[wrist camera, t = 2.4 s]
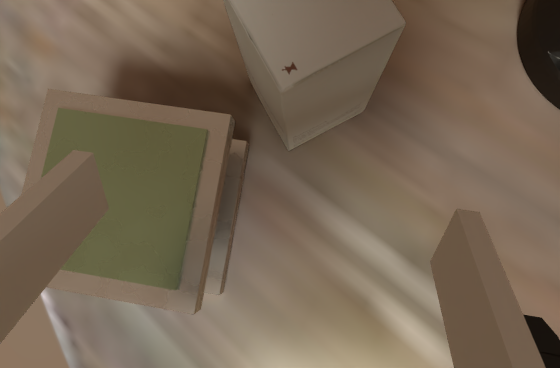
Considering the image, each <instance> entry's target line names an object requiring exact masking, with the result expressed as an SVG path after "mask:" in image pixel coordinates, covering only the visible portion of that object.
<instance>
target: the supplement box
mask: <svg viewBox="0 0 560 368" xmlns="http://www.w3.org/2000/svg"><path fill="white" fill-rule="evenodd" d="M223 1H224V5H225V8H226V11H227V14H228V17H229V20H230V22H231V25H232V28H233V31H234V34H235V37H236V40H237V43H238V46H239V49H240V52H241V55H242V58H243V61H244V63H245V67H246V70H247V73H248V76H249V79H250V82H251V84H252V86H253V88H254V90H255V92H256V94H257V96H258V97H259V99H260V101H261V103H262V105H263V107H264V109H265V111H266V113H267V114H268V116H269V118H270V120H271V121H272V123H273V125H274V127H275V128H276V130H277V132H278V134H279V136H280V137H281V139H282V141H283V143H284V144H285V146H286V148H287V150H288V151H290V150H292V149H293V148H295V147H297V146H299V145H301V144H303V143H305V142H307V141H309V140H310V139H312V138H314V137H316V136H318V135H320V134H322V133H324V132H326V131H327V130H329V129H331V128H333V127H335V126H337V125H339V124H341V123H343V122H344V121H346V120H348V119H350V118H352V117H354V116H356V115H358V114H359V113H361V112H363V111H364V110H365V108H366V106H367V103H368V102H369V100H370V97H371V95H372V93H373V91H374V89H375V87H376V85H377V83H378V81H379V78H380V77H381V74H382V72H383V70H384V69H385V66H386V64H387V62H388V60H389V58H390V56H391V54H392V51H393V49H394V47H395V45H396V43H397V41H398V39H399V37H400V35H401V33H402V31H403V29H404V27H405V25H406V21H405V20H404V18H403V16H402V15H401V13H400V12H399V11H398V9H397V7H396V6H395V4H394V3H393V1H392V0H223Z"/></svg>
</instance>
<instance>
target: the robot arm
mask: <svg viewBox="0 0 560 368" xmlns="http://www.w3.org/2000/svg"><path fill="white" fill-rule="evenodd" d="M518 44H519V50H520V55H521V58H522V61H523V64H524V67H525V69H526V71H527V73H528V75H529V77H530V78H531V80H532V82H533V83H534V85H535V86H536V87H537V88H538V90H539V91H540V92H541V93H542V94H543V95H544V96H545V97H546V98H547V99H548V100H549V101H550V102H551V103H552V104H553V105H554V106H556V107H557V108H559V109H560V0H526V2H525V4H524V7H523V9H522V12H521V16H520V20H519V26H518ZM108 209H109V207H108V203H107V200H106V196H105V193H104V189H103V186H102V182H101V179H100V175H99V171H98V168H97V164H96V161H95V157H94V154H93V153H91V152H84V151H78V150H73V151H72V152H71V153H70V154H68V155H67V156H66V157H65V158H64V159H63V160H61V161H60V162H59V163H58V164H57V165H56V166H55V167H53V168H52V169H51V170H50V171H49V172H48V173H47V174H45V175H44V176H43V177H42V178H41V179H40V180H39V181H37V182H36V183H35V184H34V185H33V186H32V187H30V188H29V189H28V190H27V191H26V192H25V193H24V194H22V195H21V196H20V197H19V198H18V199H17V200H16V201H14V202H13V203H12V204H11V205H10V206H9V207H7V208H6V209H5V210H4V211H3V212H2V213H1V214H0V343H1V342H2V341H3V340H4V339H5V337H6V336H7V335H8V333H9V332H10V331H11V330H12V329H13V327H14V326H15V325H16V324H17V322H18V321H19V320H20V319H21V317H22V316H23V315H24V314H25V312H26V311H27V310H28V309H29V307H30V306H31V305H32V304H33V302H34V301H35V300H36V299H37V298H38V296H39V295H40V294H41V293H42V291H43V290H44V289H45V288H46V286H47V285H48V284H49V283H50V281H51V280H52V279H53V278H54V276H55V275H56V274H57V273H58V271H59V270H60V269H61V268H62V266H63V265H64V264H65V263H66V262H67V260H68V259H69V258H70V257H71V255H72V254H73V253H74V252H75V250H76V249H77V248H78V247H79V245H80V244H81V243H82V242H83V240H84V239H85V238H86V237H87V235H88V234H89V233H90V232H91V230H92V229H93V228H94V227H95V225H96V224H97V223H98V222H99V221H100V219H101V218H102V217H103V216H104V214H105V213H106V212H107V211H108ZM430 263H431V268H432V272H433V277H434V281H435V286H436V290H437V294H438V299H439V303H440V308H441V312H442V316H443V321H444V325H445V330H446V334H447V339H448V343H449V347H450V352H451V356H452V361H453V365H454V368H560V340H559V338H558V336H557V335H556V334H555V333H554V332H553V330H552V329H551V328H550V327H549V326H548V325H547V324H546V322H545V321H544V320H543V319H542V318H540V317H534V316H528V315H523V313H522V311H521V309H520V306H519V304H518V302H517V299H516V297H515V295H514V292H513V290H512V288H511V285H510V283H509V280H508V278H507V276H506V273H505V271H504V269H503V266H502V264H501V262H500V259H499V257H498V255H497V252H496V250H495V248H494V245H493V243H492V241H491V238H490V236H489V234H488V231H487V229H486V226H485V224H484V222H483V219H482V217H481V215H480V212H474V211H467V210H461V209H456V211H455V213H454V215H453V217H452V219H451V221H450V223H449V225H448V227H447V229H446V231H445V233H444V235H443V237H442V239H441V241H440V243H439V245H438V247H437V249H436V251H435V253H434V255H433V257H432V259H431V261H430Z"/></svg>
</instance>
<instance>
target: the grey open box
mask: <svg viewBox="0 0 560 368" xmlns="http://www.w3.org/2000/svg"><path fill="white" fill-rule="evenodd" d="M234 126H235V121H234V119H233V117H232V116H231V114H223V113H216V112H209V111H202V110H195V109H188V108H181V107H174V106H166V105H159V104H152V103H145V102H138V101H131V100H124V99H117V98H109V97H102V96H95V95H88V94H81V93H74V92H67V91H60V90H52V89H48V91H47V95H46V99H45V103H44V107H43V111H42V115H41V119H40V123H39V127H38V131H37V135H36V139H35V143H34V147H33V151H32V155H31V159H30V163H29V167H28V171H27V175H26V179H25V183H24V187H23V190H22V194H24V193H25V192H26V191H27V190H28V189H29V188H30V187H32V186H33V185H34V184H35V183H36V182H37V181H39V180H40V179H41V178H42V177H43V176H44V175H45V174H47V173H48V172H49V171H50V170H51V169H52V168H53V167H55V166H56V165H57V164H58V163H59V162H60V161H61V160H63V159H64V158H65V157H66V156H67V155H68V154H70V153H71V152H72V151H73V150H78V151H84V152H91V153H93V154H94V157H95V161H96V164H97V168H98V171H99V175H100V179H101V182H102V186H103V189H104V193H105V196H106V200H107V203H108V207H109V209H108V211H107V212H106V213H105V214H104V216H103V217H102V218H101V219H100V221H99V222H98V223H97V224H96V225H95V227H94V228H93V229H92V230H91V232H90V233H89V234H88V235H87V237H86V238H85V239H84V240H83V242H82V243H81V244H80V245H79V247H78V248H77V249H76V250H75V252H74V253H73V254H72V255H71V257H70V258H69V259H68V260H67V262H66V263H65V264H64V265H63V266H62V268H61V269H60V270H59V271H58V273H57V274H56V275H55V276H54V278H53V279H52V280H51V281H50V283H49V284H48V285H47V286H46V287H49V288H54V289H59V290H65V291H70V292H75V293H81V294H86V295H91V296H97V297H102V298H108V299H113V300H118V301H124V302H129V303H134V304H140V305H145V306H151V307H156V308H161V309H167V310H172V311H177V312H183V313H188V314H195V313H197V312H198V311H199V310H200V309H201V306H202V301H203V295H204V293H209V294H214V295H220V294H222V293H223V292H224V286H225V280H226V275H227V269H228V263H229V258H230V252H231V246H232V241H233V235H234V230H235V224H236V218H237V213H238V207H239V201H240V196H241V190H242V184H243V179H244V173H245V167H246V162H247V156H248V150H249V144H248V142H247V141H243V140H236V139H232V137H233V132H234ZM22 194H21V195H22Z"/></svg>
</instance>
